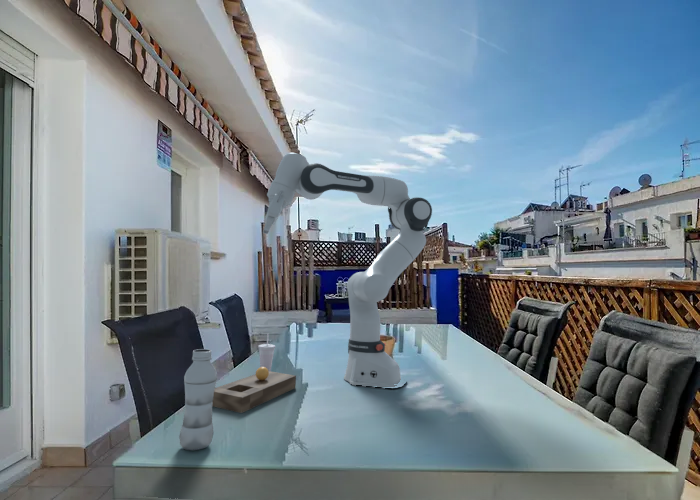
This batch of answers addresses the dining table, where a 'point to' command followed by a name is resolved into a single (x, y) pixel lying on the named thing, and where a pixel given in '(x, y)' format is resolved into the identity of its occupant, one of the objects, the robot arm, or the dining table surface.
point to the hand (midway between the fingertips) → (265, 231)
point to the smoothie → (266, 354)
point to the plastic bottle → (198, 402)
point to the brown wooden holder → (252, 391)
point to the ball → (262, 373)
